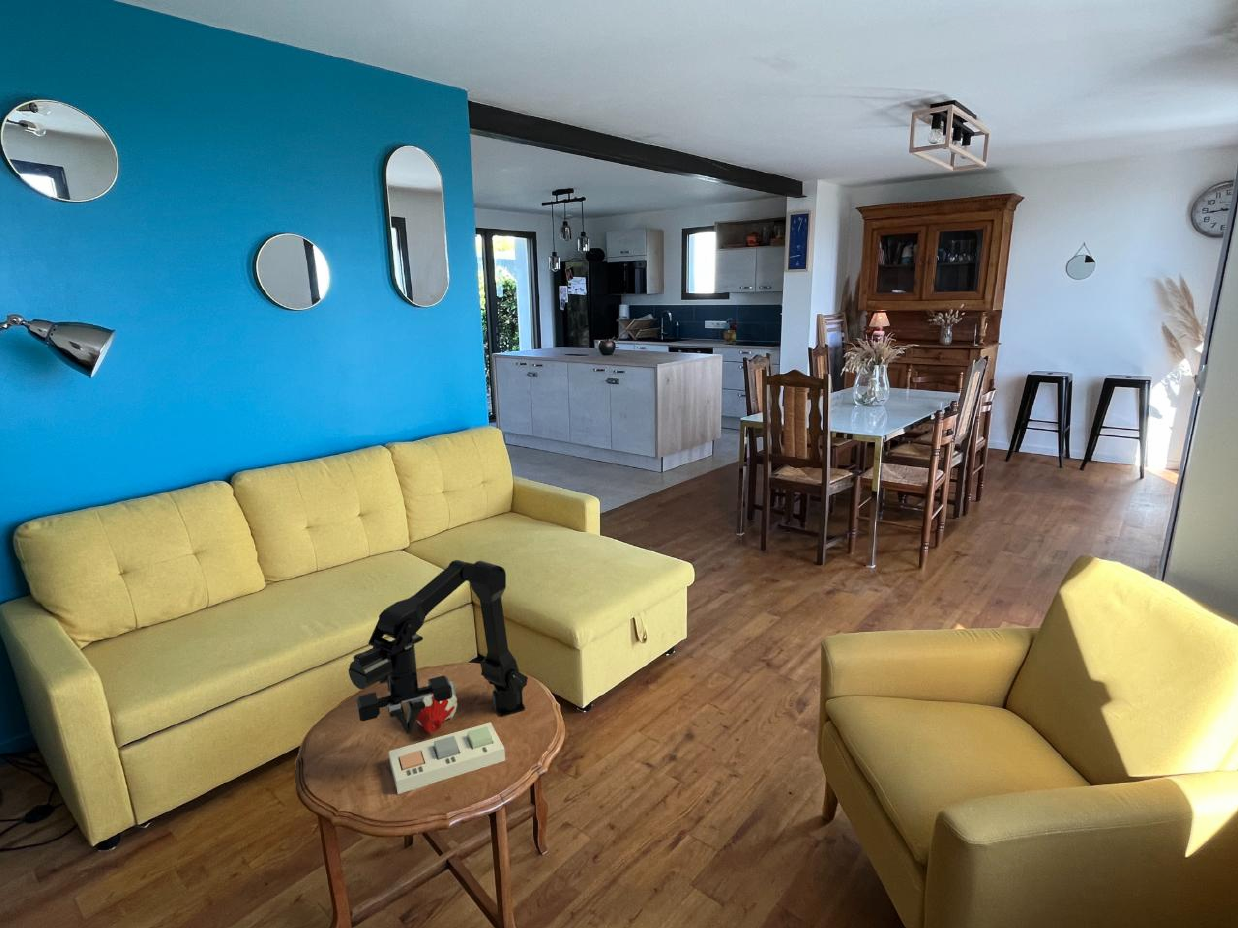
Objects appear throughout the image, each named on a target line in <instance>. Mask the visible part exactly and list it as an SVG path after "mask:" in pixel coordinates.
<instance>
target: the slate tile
mask: <svg viewBox="0 0 1238 928" xmlns="http://www.w3.org/2000/svg"><path fill="white" fill-rule="evenodd" d="M434 748H435V752H436V755H437V758H438V760H439V759H443V758H446V757H449V756H453V755H456V754H459V748H458V745H457V742H456V740H455V737H454V736H451V737H447V738H444V739H440V740H437V741H434Z"/></svg>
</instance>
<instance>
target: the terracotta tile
mask: <svg viewBox="0 0 1238 928" xmlns="http://www.w3.org/2000/svg"><path fill="white" fill-rule="evenodd" d="M399 758H400V766H401V769H402V771H403V770H406V769H409V768H413V767H416V766H419V765H423V764H424V761H423V758H422V755H421V752H420V751H416V752H413V753H409V754H406V755H403V756H399Z"/></svg>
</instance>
